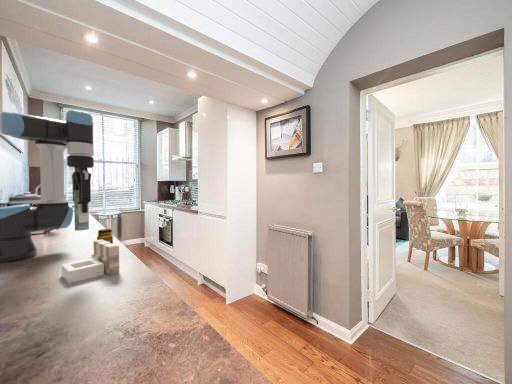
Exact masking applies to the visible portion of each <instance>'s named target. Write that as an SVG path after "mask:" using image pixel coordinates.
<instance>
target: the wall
mask: <svg viewBox="0 0 512 384" xmlns="http://www.w3.org/2000/svg"><path fill="white" fill-rule="evenodd" d="M93 255H94V258H96V259H97V260H99V261H100V262H102V263H104V274H107V275H108V276H111V277H112V276H113V275H114V276H115V275H117V274H120V246H119V245H117V244H115V243H114V242H113V243H110V242H108V241H105V240H102V239H101V240H97V239H96V240H93Z"/></svg>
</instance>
